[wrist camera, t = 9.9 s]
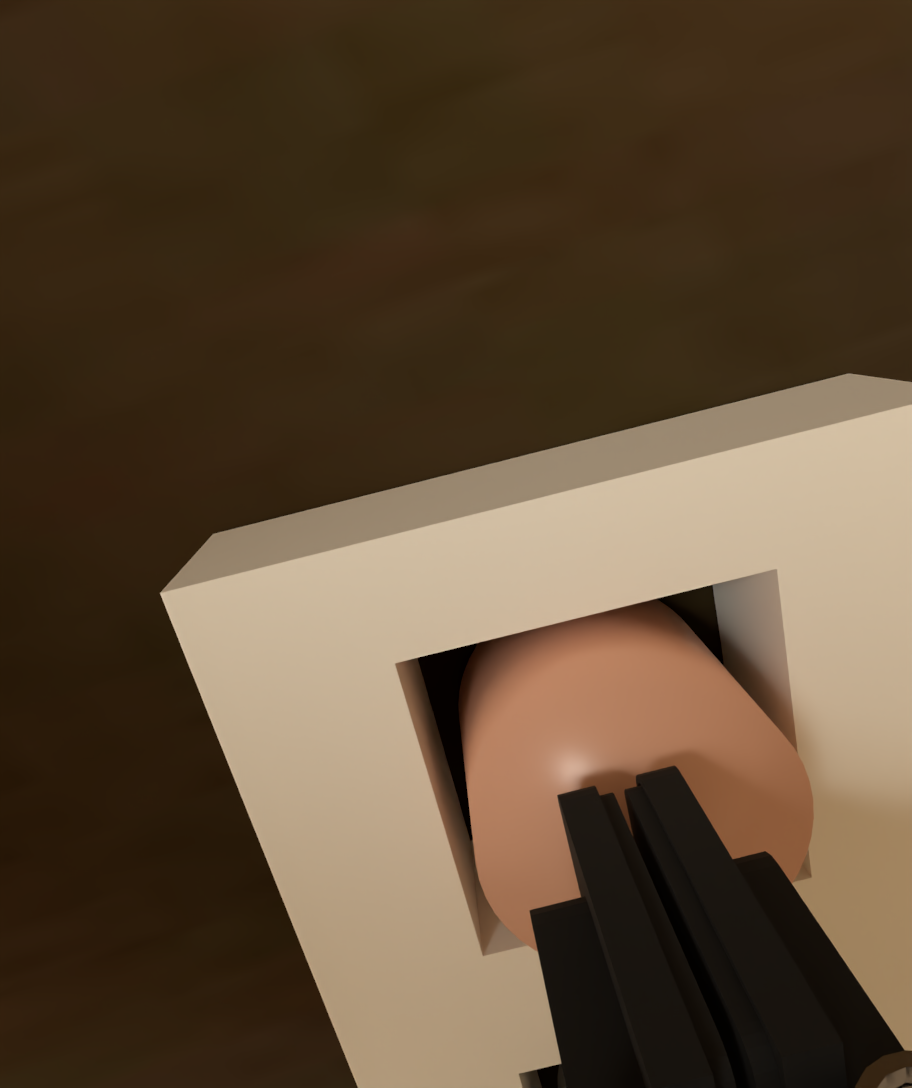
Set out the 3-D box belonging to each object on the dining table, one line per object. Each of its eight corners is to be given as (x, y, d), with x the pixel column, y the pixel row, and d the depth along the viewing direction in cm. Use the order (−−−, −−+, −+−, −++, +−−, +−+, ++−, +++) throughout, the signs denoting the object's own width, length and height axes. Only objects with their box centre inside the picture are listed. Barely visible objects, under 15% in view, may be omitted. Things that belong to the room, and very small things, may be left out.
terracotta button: (430, 619, 14) (437, 736, 10) (690, 555, 14) (796, 648, 10) (489, 832, 15) (515, 1005, 12) (723, 775, 15) (827, 930, 11)
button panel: (213, 534, 14) (160, 593, 11) (849, 373, 13) (968, 389, 10) (527, 1392, 22) (543, 1553, 19) (916, 1304, 22) (992, 1452, 19)
